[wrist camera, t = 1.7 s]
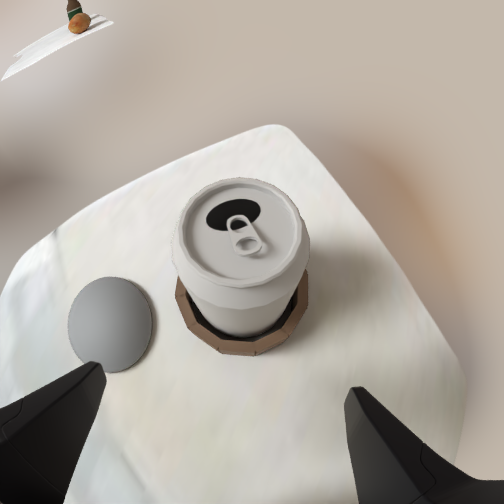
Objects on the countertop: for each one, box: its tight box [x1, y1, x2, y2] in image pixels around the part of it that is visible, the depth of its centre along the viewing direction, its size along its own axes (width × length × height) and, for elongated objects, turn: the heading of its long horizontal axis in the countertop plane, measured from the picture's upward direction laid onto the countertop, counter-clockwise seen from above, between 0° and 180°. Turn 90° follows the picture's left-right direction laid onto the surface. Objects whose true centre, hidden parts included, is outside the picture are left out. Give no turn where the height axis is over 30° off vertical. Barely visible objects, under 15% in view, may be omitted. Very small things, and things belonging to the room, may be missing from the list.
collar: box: [175, 269, 308, 356], centre depth 23 cm, size 10×10×3 cm
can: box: [171, 177, 310, 338], centre depth 19 cm, size 8×8×12 cm
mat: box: [68, 277, 152, 373], centre depth 22 cm, size 9×9×1 cm
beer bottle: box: [67, 0, 83, 21], centre depth 67 cm, size 8×8×24 cm
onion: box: [68, 13, 91, 34], centre depth 64 cm, size 10×10×10 cm
